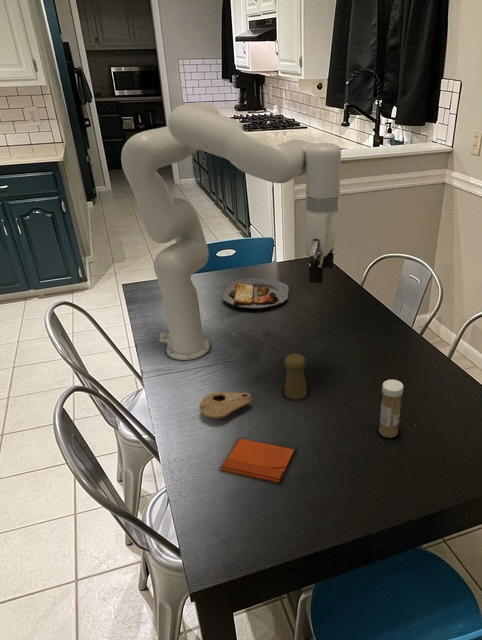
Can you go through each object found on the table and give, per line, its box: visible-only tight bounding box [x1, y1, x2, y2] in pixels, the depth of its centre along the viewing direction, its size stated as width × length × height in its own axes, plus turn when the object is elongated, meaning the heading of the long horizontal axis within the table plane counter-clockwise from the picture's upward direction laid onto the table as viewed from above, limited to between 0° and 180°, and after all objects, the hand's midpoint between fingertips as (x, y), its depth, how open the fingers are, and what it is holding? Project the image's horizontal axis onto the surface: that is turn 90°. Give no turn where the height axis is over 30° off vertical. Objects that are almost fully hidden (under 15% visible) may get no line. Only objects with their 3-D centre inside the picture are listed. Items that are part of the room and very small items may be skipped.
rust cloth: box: [220, 438, 295, 484], centre depth 109 cm, size 13×10×1 cm
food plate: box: [221, 277, 290, 310], centre depth 180 cm, size 25×23×4 cm
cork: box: [283, 353, 308, 400], centre depth 127 cm, size 6×6×11 cm
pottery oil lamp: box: [199, 391, 253, 419], centre depth 122 cm, size 9×12×7 cm
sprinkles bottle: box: [378, 379, 404, 439], centre depth 113 cm, size 5×5×14 cm
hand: (321, 274), depth 121 cm, fingers open, 9 cm apart
